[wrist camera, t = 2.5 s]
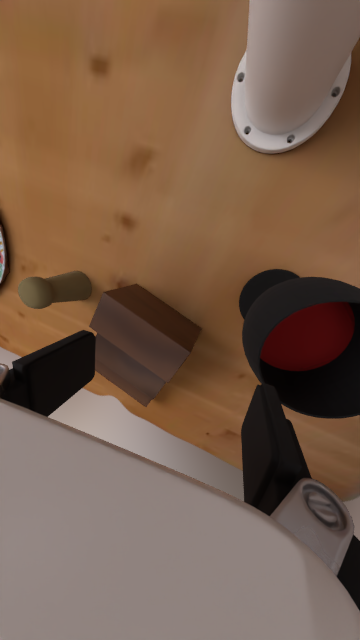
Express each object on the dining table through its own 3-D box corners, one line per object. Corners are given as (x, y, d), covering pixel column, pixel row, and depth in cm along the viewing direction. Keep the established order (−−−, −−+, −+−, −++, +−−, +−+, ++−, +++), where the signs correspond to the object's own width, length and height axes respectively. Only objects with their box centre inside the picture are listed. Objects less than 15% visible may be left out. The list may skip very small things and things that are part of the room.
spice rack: (151, 397, 44) (129, 435, 34) (99, 360, 44) (63, 386, 35) (202, 328, 35) (190, 352, 26) (136, 283, 36) (103, 292, 27)
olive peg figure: (94, 278, 38) (44, 285, 28) (88, 304, 41) (39, 320, 31) (69, 266, 39) (12, 268, 29) (64, 292, 41) (9, 303, 31)
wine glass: (319, 317, 30) (457, 411, 11) (253, 340, 34) (277, 439, 15) (294, 255, 28) (406, 249, 10) (228, 287, 32) (220, 325, 14)
